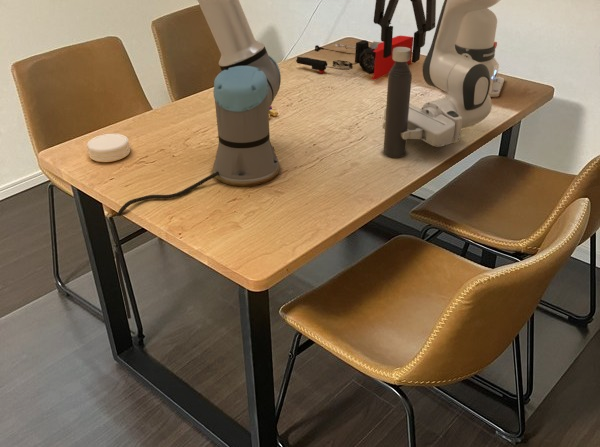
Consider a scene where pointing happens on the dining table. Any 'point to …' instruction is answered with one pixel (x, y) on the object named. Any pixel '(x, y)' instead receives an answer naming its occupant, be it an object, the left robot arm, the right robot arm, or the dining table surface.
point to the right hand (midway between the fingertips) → (393, 130)
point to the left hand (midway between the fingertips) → (401, 58)
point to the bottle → (397, 109)
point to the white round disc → (108, 147)
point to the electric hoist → (364, 57)
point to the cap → (401, 54)
